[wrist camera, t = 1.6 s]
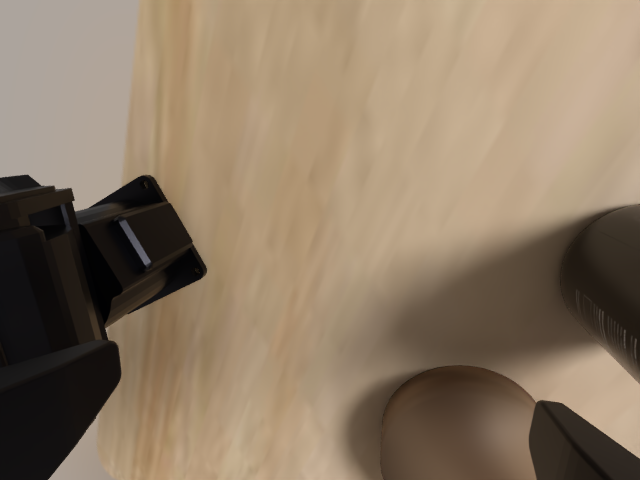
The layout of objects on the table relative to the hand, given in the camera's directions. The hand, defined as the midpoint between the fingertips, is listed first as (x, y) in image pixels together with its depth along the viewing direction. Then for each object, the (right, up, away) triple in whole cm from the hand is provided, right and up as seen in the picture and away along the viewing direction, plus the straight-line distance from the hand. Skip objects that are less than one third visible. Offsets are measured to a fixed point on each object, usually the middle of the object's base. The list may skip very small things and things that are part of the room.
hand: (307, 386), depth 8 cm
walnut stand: (+8, -8, +14) cm, 18 cm away
